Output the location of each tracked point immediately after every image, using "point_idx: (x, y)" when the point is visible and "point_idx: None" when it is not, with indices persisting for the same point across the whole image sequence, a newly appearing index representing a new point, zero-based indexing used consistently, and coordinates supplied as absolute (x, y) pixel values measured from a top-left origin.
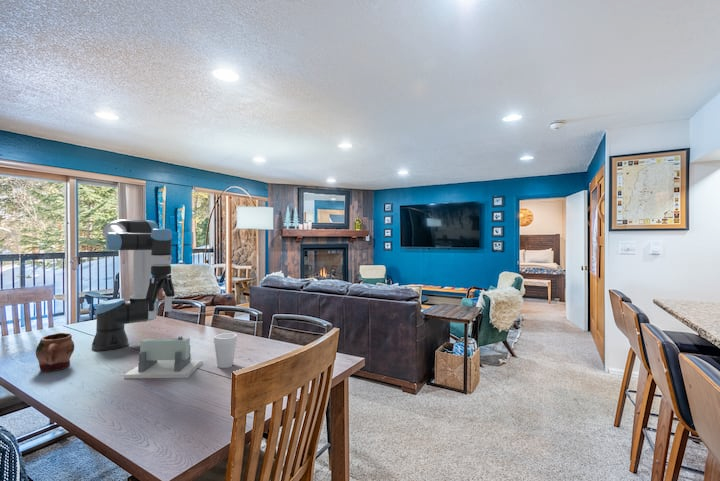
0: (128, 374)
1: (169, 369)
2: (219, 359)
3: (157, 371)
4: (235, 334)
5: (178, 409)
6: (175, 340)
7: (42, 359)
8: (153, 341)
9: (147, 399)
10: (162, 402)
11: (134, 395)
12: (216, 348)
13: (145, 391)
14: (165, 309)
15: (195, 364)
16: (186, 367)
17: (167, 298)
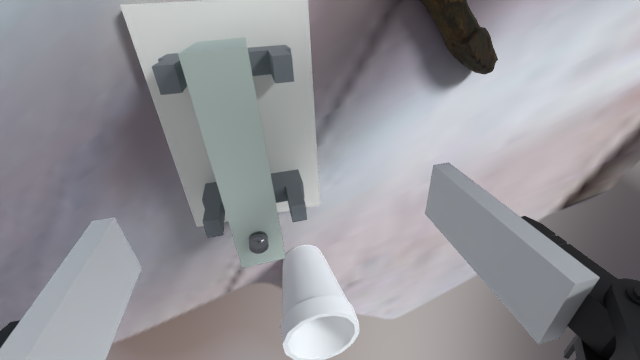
0: (129, 25)
1: None
2: (283, 276)
3: (193, 128)
4: (340, 350)
5: (2, 306)
6: (236, 230)
7: None
8: (202, 135)
9: (7, 211)
10: (14, 256)
11: (9, 157)
12: (289, 297)
13: (55, 170)
14: (443, 183)
15: (278, 208)
16: None
17: (536, 290)
